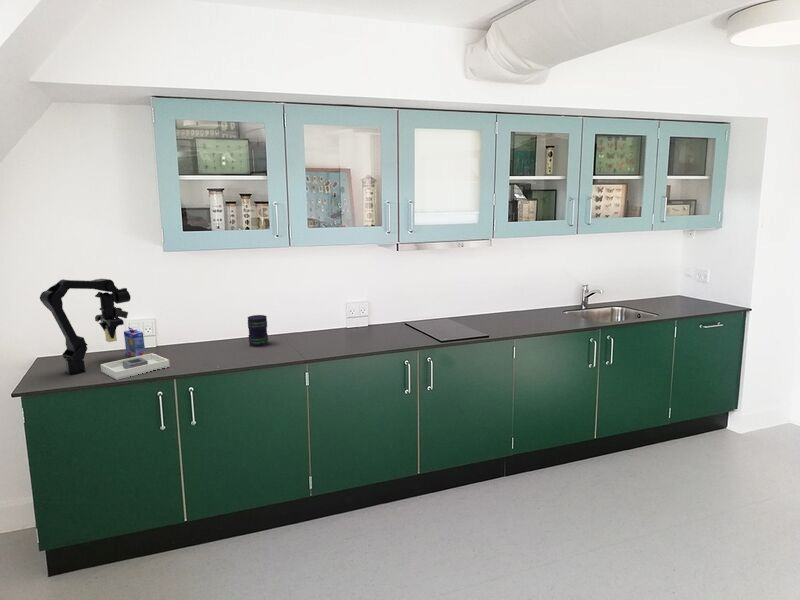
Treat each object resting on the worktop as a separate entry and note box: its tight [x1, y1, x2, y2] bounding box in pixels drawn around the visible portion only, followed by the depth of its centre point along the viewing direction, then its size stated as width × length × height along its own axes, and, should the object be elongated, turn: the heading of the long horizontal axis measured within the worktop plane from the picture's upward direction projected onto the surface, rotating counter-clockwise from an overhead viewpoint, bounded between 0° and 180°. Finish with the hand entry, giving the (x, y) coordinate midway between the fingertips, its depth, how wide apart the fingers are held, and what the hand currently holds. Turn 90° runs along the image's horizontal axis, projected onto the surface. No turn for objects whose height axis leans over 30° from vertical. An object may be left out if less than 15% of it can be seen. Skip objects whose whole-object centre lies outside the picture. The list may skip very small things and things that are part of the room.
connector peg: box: [104, 329, 118, 343], centre depth 286 cm, size 4×4×6 cm
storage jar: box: [247, 314, 269, 348], centre depth 315 cm, size 10×10×15 cm
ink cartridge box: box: [123, 327, 147, 357], centre depth 297 cm, size 10×6×14 cm, turn 51°
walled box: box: [100, 352, 171, 381], centre depth 276 cm, size 24×17×4 cm
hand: (111, 337), depth 286 cm, fingers closed on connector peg, 4 cm apart
